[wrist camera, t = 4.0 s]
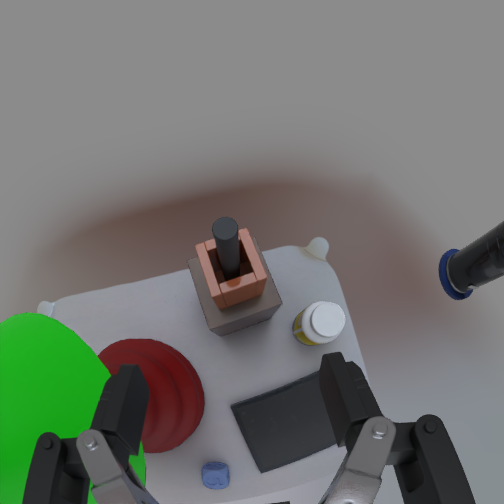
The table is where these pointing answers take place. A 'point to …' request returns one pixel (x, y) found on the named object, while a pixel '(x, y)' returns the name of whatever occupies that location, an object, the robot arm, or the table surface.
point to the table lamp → (82, 393)
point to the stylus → (227, 246)
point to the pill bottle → (319, 323)
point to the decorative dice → (215, 475)
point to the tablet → (285, 423)
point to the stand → (237, 313)
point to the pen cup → (239, 287)
